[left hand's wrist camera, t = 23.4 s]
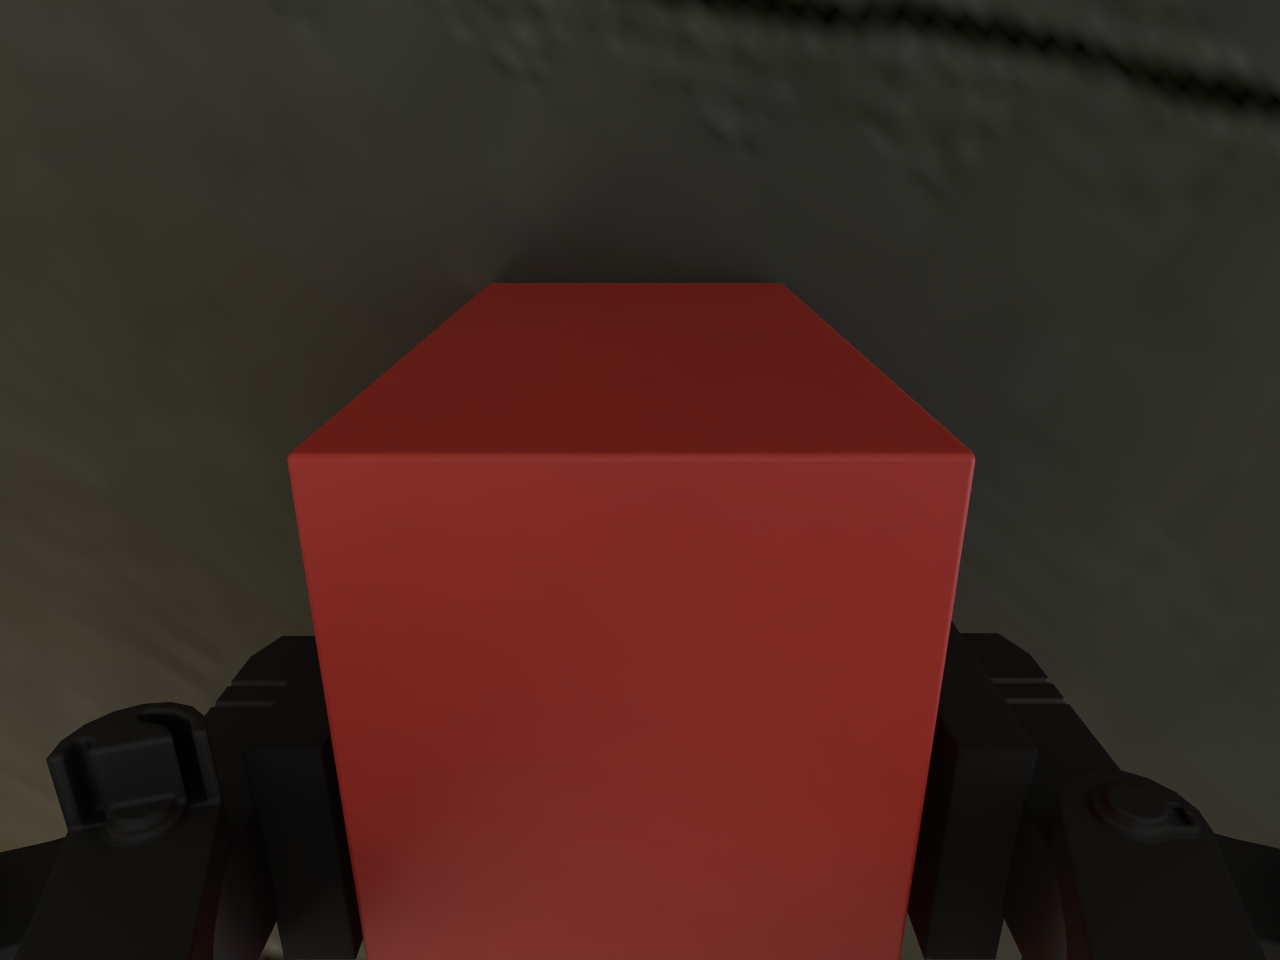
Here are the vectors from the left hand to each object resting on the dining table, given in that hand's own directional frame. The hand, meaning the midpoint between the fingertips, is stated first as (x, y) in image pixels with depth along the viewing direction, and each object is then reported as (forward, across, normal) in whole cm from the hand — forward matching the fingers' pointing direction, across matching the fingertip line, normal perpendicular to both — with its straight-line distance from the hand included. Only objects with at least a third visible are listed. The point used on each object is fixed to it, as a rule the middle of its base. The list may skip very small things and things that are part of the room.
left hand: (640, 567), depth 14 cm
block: (+2, 0, 0) cm, 2 cm away
